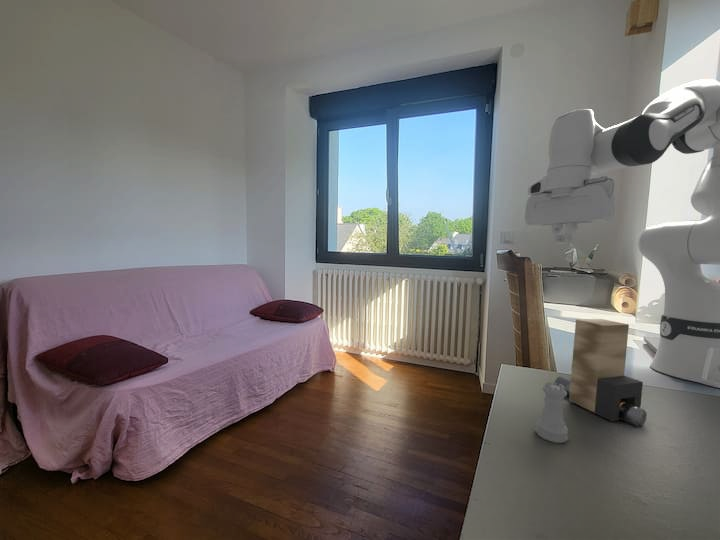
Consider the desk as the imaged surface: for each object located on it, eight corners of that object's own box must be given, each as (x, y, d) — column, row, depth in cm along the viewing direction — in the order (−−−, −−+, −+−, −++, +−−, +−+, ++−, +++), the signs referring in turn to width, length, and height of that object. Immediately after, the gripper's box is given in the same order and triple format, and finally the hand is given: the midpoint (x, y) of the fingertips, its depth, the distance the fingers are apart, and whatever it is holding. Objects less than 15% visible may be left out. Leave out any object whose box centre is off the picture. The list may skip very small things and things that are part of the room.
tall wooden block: (568, 400, 64) (575, 319, 63) (594, 397, 66) (601, 318, 66) (594, 412, 59) (602, 325, 59) (620, 408, 62) (628, 324, 61)
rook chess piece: (566, 448, 48) (571, 393, 48) (532, 436, 51) (536, 385, 50) (569, 435, 52) (574, 385, 51) (537, 425, 54) (541, 377, 54)
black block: (594, 412, 59) (597, 378, 59) (621, 408, 62) (624, 375, 61) (612, 421, 57) (615, 385, 56) (639, 416, 59) (642, 381, 59)
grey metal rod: (553, 391, 69) (555, 376, 69) (564, 389, 70) (565, 375, 70) (633, 427, 55) (635, 410, 55) (645, 425, 56) (647, 408, 56)
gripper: (625, 176, 69) (619, 243, 69) (541, 191, 88) (537, 244, 89) (603, 172, 67) (597, 242, 67) (522, 189, 86) (518, 243, 87)
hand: (562, 243), depth 78 cm, fingers closed
